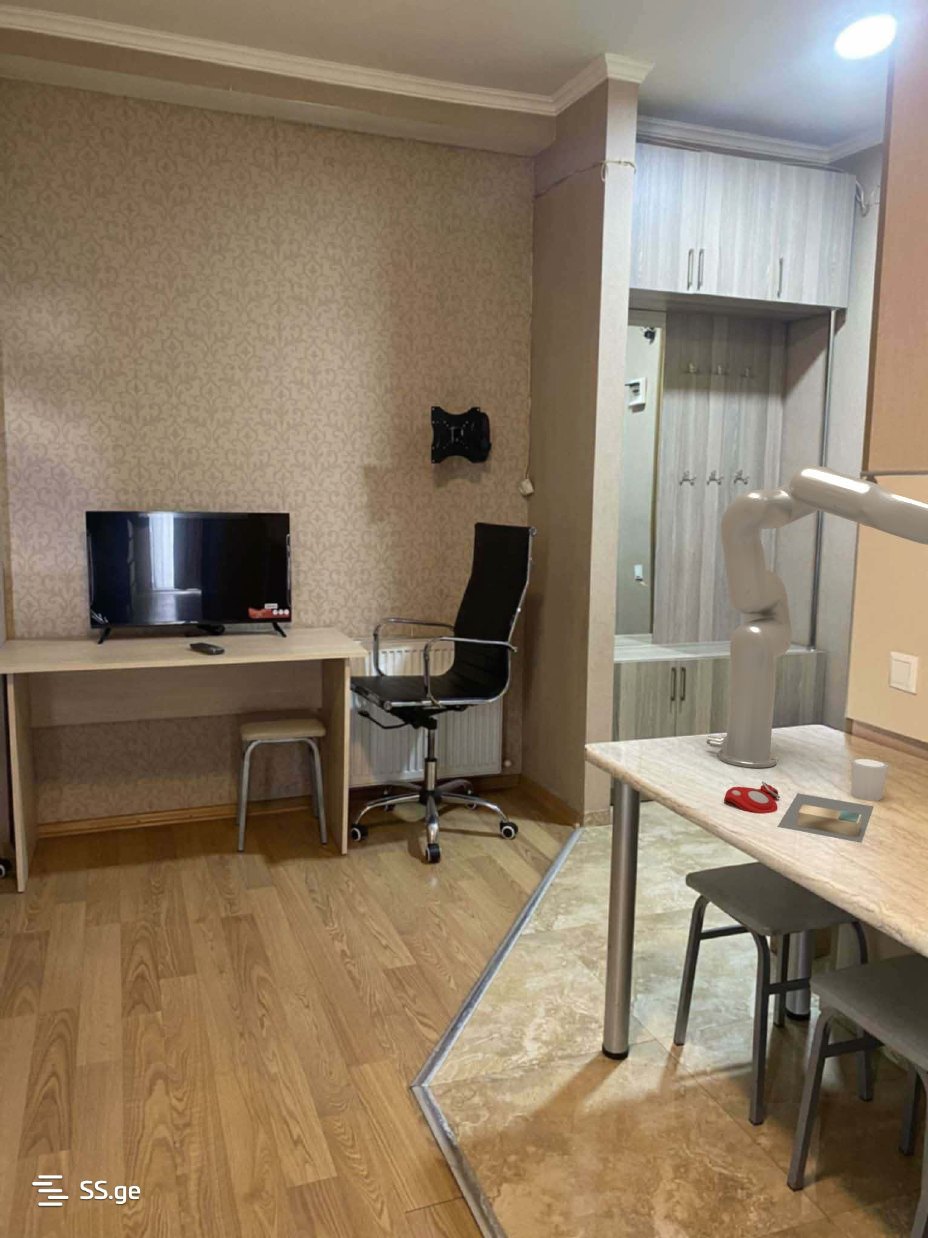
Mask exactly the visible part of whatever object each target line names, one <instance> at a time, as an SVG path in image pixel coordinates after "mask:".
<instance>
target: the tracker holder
mask: <svg viewBox="0 0 928 1238" xmlns="http://www.w3.org/2000/svg"><path fill="white" fill-rule="evenodd" d="M761 784H762V785H760V788H752V787H745V786H733V787H731V788H729V789H727V790H726V791H725V794H724V799H723V801H724V803H726V804H727V803H729V802H731V803H732V804H734V805H735V806H737V807H738V808H739V809H740V810H742V811H744V812H748V813H753V814H759V815H760V814H764V815H766V814H772V813H775V812H777V810H778V804H777V802H776V799H780V798H781V796H780V795H779V790H778V789H777V788H775V787H774V786H772V785H770V784H768V783H766V782H765V781H764V780H763V781H761Z"/></svg>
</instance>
